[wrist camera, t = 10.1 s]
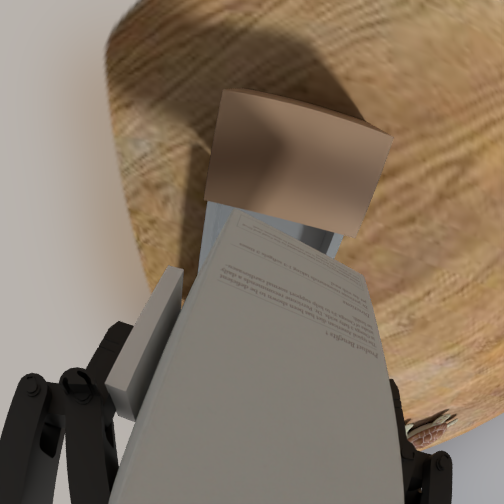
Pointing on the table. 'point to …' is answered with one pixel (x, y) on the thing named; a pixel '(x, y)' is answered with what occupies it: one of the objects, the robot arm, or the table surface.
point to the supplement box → (267, 386)
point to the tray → (304, 233)
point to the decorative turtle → (428, 431)
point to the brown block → (294, 160)
